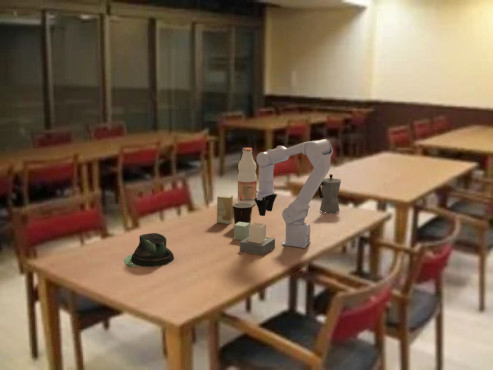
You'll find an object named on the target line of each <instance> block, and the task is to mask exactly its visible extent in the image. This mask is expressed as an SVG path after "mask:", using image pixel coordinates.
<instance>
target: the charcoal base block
mask: <svg viewBox="0 0 493 370" xmlns="http://www.w3.org/2000/svg"><path fill="white" fill-rule="evenodd" d="M275 248H276V238H273V237H268V236H266V239H265V240H264V241H263V242H261V243H260V242H253V241H249V237H248V238H246V239H244V240H240V242H239V251H240V252H245V253H249V252H250V254H254V253H255V255H259V254H260V256H264V255H266V254H267V253H269V252H270V251H272V250H273V249H275ZM271 249H272V250H271ZM268 251H269V252H268ZM265 253H266V254H265Z"/></svg>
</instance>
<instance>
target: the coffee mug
mask: <svg viewBox="0 0 493 370" xmlns="http://www.w3.org/2000/svg"><path fill="white" fill-rule="evenodd" d="M253 206H254V205H252V204H250V203H238V202H235V203H233V209H232V214H233V220H234V225H235V224H236V223H238V222H245V223H250V224H251V221H252V213H253Z"/></svg>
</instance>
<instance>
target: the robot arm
mask: <svg viewBox="0 0 493 370" xmlns="http://www.w3.org/2000/svg"><path fill="white" fill-rule="evenodd" d="M301 153H302V154H303V155H304V156H305V155H306V157H307V158H308V160H309V162H310V164H311V165H312V167H313V168H312V171H311V173H310V174H309V176H308V177H307V179H306V180H305V182H304V184H303V186H302V188H301V189H300V191H299V192H298V194H297V196H296V198H295V199H294V200H293V201H292V202H290V203H289V204H288V206H287V207H285V208H284V209H283V210H282V214H281V215H282V219H283V221H284V223H285V239H284V241H283V242H282V243H281V245H282V246H287V247H295V248H303V249H305V248H307V246H309V245H310V244H311V224H310V223H308V222H307V223H306V222H305V221H306V218H307V217H308V215H309V214H308V213H309V209H310V208H311V207H310V205H309V204H310V203H311V201H312V199H313V198H314V197H315V195H316V193H317V191H318V188H319V186H320V184H321V183H322V181H323V180H324V179H326V177H327V174H328V173H329V171H330V168H331V160H332V156H333V153H334V150H333V147H332V144H331V142H330V141H329V140H328V139H326V138H325V139H320V140H317V139H316V140H312V141H311V140H310V141H305V142H301V143H298V144H295V145H292V146H290V147H286V146H284V145H277V146H276V148H273V149H272V148H269V149H267V151H261V152H259V153H258V154H257V155H256V164H257V165H258V186H259V187H258V189H257V191H256V192H257V193H256V198H255V202H256V204H255V205H256V206H257V210H258V215H259V216H262V217H265V216H266V212H272V211H273V209H274V208H273V207H274V205H275V204H274V203H275V201H276V198H277V196H278V194H277V193H275V190H276V189H275V187H274V169H275V164H279V163H282V162H285V161H288V159H290V156H294V155H298V154H301Z"/></svg>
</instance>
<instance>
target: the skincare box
mask: <svg viewBox="0 0 493 370" xmlns="http://www.w3.org/2000/svg"><path fill="white" fill-rule="evenodd" d="M233 204H234V196H233V195H228V194H218V195H217V199H216V223H217V224H225V225H230V224H231V223H232V222H233Z"/></svg>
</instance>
